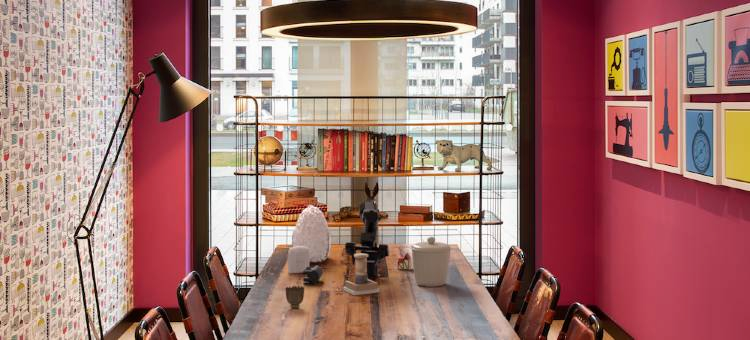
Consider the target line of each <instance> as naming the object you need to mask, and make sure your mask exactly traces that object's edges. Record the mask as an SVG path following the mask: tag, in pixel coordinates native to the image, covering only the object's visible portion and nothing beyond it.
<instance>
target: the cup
mask: <svg viewBox="0 0 750 340" xmlns="http://www.w3.org/2000/svg"><path fill="white" fill-rule="evenodd" d="M304 296H305V287H304V286H303V285H301V286H299V285H297V286H296V285H292V286H289V287H288V286H286V287H285V297H286V301H287V303H288V304H289V307H290V308H291V309H294V310H297V309H299V308H300V307H301V306H300V305H301V303H302V302H303V300H304Z"/></svg>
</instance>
